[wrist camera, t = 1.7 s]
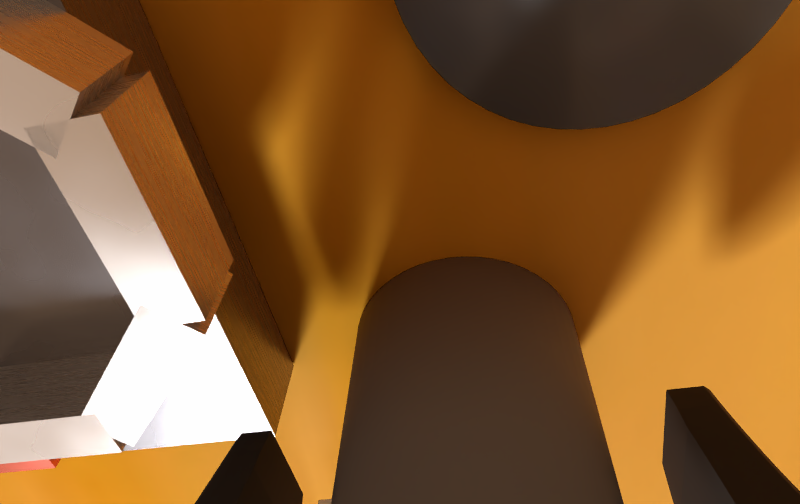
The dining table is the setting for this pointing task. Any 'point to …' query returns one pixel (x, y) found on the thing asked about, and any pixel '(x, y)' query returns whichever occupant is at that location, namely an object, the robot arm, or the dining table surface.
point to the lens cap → (584, 53)
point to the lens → (471, 395)
